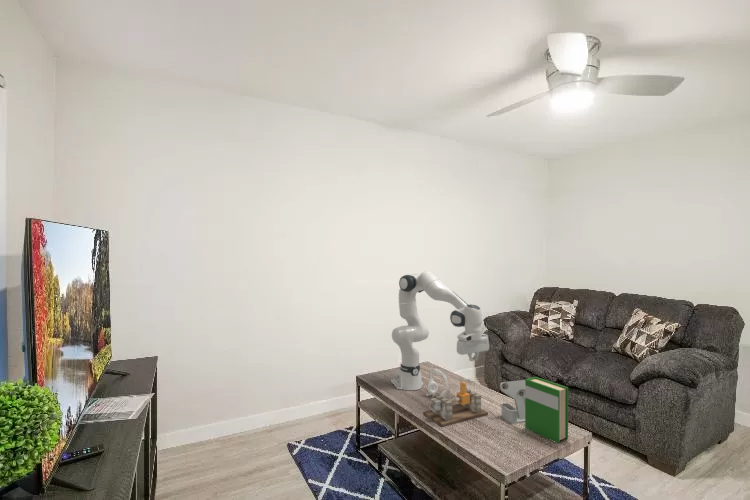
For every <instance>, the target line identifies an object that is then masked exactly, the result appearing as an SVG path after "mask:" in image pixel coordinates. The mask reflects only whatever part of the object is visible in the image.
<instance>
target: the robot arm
mask: <svg viewBox="0 0 750 500" xmlns="http://www.w3.org/2000/svg"><path fill="white" fill-rule="evenodd" d="M398 281H399V282H398V283H399V284H398V285H399V290H398V306H399V307H398V308H399V316H400V317H401V319H403V320H405V321H406V323H407V325H401V326H398V327H395V328H394V329H393V330H392V332H391V339H392V341H393V342H394V343H395V344H396V345H397V346H398V347H399V349H400V353H401V363H400V368H399V369H398V370H397V371H396V372H395V373H394V377H393V378H391V379H390V382H391V384H394V387H395V388H396V389H397V390H403V391H404V390H405V391H416V390H420V389H422V387H423V385H424V382H423V380H422V372H421V364H420V352H419V350H417V348H415V347H414V346H413V343H418V342H419V343H420V342H422V341H425V340H427V339H428V337H429V333H430V332H429V328H428V326H427V325H425V324H424V323H423V322H422V321H421V319H420V317H419V314H418V308H417V299H416V297H417V293H422V292H425V293H426V294H427V296H428V297H430V298H431V299H432V300H434V301H439V302H444V303H445V302H446V303H449V304H450V305H452V306H453V307H455V309H454V310H453V311H451V313H450V315H449V316H450V317H449V320H450V323H451V324H452V326H454V327H455V328H456V327H457V328H461V327H463V328H464V331H462V332H461V333H459V334H457V336H456V337H457V339H458V340H457V341H456V353H457V354H458V355H461V356H464V355H467V356H468V358H469V361H470V362H473V361H474V362H475V361H478V357H479V355H480V353H482V352H487V351H489V349H490V341H489V335H488V334H487V333H482V332H483V330H482V321H483V318H482V317H483V315H482V310H481V307H479V306H478V305H476V304H468V303H467V302H466V301H464V299H463V298H461V296H459V295H458V294H457V293H456V292H455V291H453V290H451V289H450V287H447V286H446V285H445V284H444V283H443V282H442V281H441V280H440V279H439V278H438V277H437V276H436V275H435V274H433V273H432V272H431V271H428V270H425V271H423V272H421V273H412V274H404V275H402V276H400V279H399V280H398ZM473 354H474V356H473Z"/></svg>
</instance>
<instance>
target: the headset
mask: <svg viewBox="0 0 750 500" xmlns="http://www.w3.org/2000/svg"><path fill="white" fill-rule="evenodd" d="M434 373H436V374H437V375H439V376H440V377H442V378H443V380H444V383H445V390H443V391H441V393H440V394H439V396H442V397H443V399H445V398H446V399H452V394H451V390H450V386H449V385H450V384H449V381H448V378H447V375H446V374H445V373H444V372H443V371H441V370H440V369H438V368H433V369H432V370H431V371H430V374H429V379H428V384H427V392H428V393H427V394H425V396H426V397H429V396H432V394H436V393H437V392H438V390H439V385H438V383H437V382H436V381H434V380H435V379H434Z"/></svg>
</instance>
